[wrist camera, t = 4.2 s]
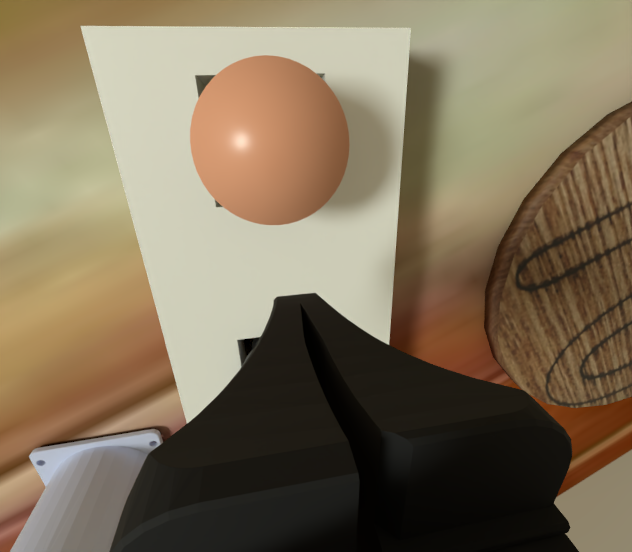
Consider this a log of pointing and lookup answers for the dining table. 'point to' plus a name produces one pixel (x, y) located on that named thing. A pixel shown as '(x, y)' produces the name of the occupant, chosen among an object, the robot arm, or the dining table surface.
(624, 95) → the dining table surface
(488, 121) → the dining table surface
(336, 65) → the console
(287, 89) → the button
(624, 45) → the dining table surface
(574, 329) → the trivet
